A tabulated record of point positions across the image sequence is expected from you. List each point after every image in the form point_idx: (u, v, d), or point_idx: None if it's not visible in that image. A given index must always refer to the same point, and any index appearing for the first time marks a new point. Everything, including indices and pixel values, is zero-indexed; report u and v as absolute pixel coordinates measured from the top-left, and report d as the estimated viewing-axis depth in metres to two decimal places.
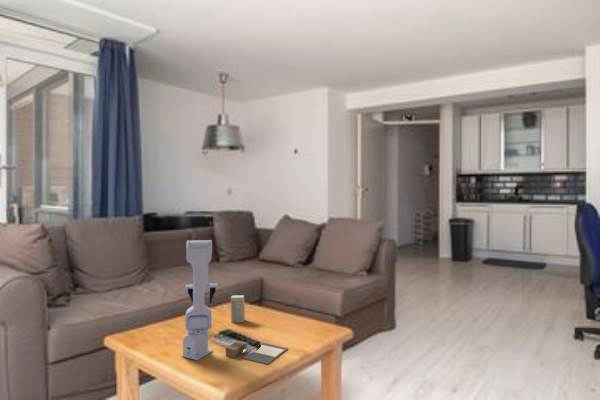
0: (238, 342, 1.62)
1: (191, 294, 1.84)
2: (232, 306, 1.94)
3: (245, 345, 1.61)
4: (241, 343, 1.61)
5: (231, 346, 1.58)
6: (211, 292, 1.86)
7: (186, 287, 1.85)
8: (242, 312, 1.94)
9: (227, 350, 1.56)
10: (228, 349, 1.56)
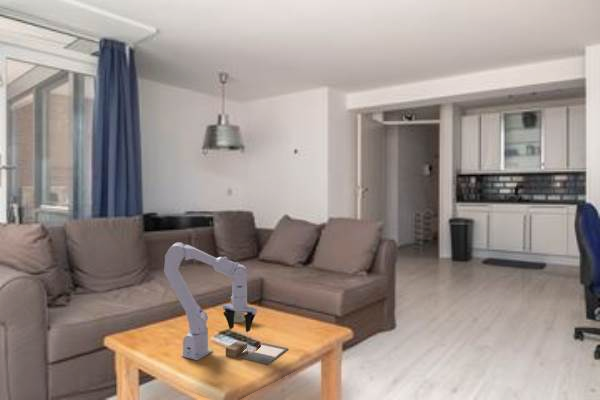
0: (238, 342, 1.62)
1: (226, 315, 1.60)
2: None
3: (245, 345, 1.61)
4: (241, 343, 1.61)
5: (231, 346, 1.58)
6: (245, 317, 1.57)
7: (223, 306, 1.62)
8: (242, 312, 1.94)
9: (227, 350, 1.56)
10: (228, 349, 1.56)
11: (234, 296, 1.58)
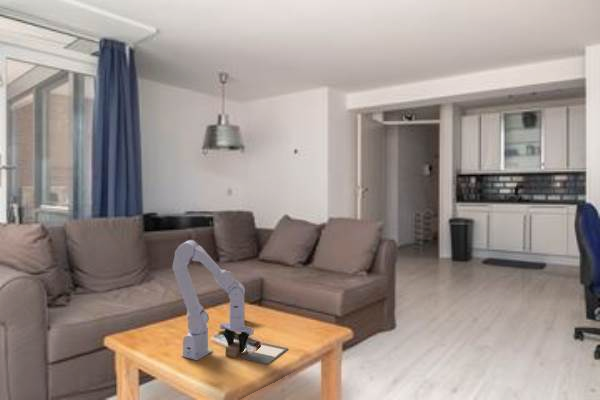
0: (238, 341, 1.62)
1: (226, 335, 1.58)
2: None
3: None
4: None
5: (231, 345, 1.58)
6: (239, 337, 1.55)
7: (221, 325, 1.61)
8: None
9: (227, 349, 1.56)
10: (228, 348, 1.56)
11: (231, 316, 1.57)
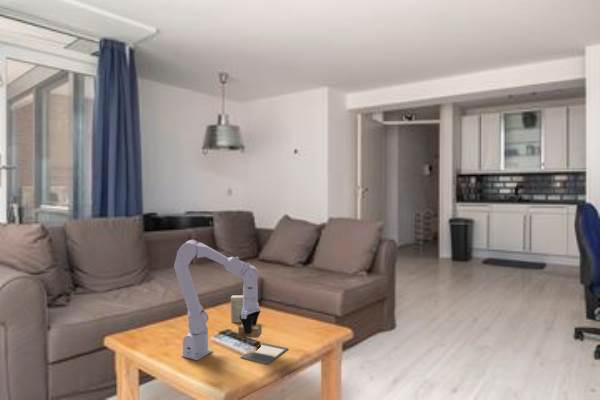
0: (256, 325, 1.60)
1: None
2: (232, 306, 1.94)
3: (254, 330, 1.57)
4: (254, 327, 1.59)
5: None
6: None
7: None
8: None
9: None
10: None
11: (244, 297, 1.57)
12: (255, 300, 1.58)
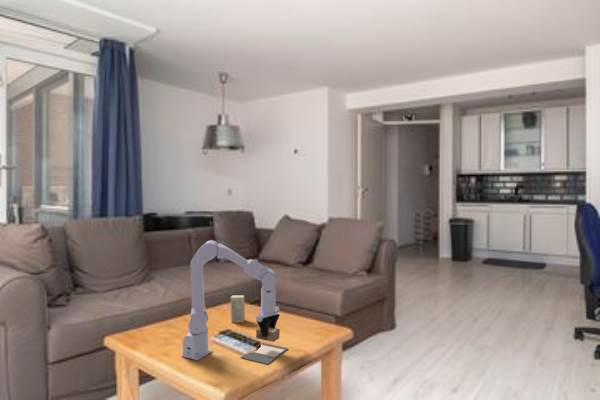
0: (274, 329, 1.61)
1: None
2: (232, 306, 1.94)
3: (271, 334, 1.58)
4: (271, 330, 1.59)
5: None
6: None
7: None
8: (242, 312, 1.94)
9: None
10: None
11: (263, 301, 1.58)
12: (272, 304, 1.58)
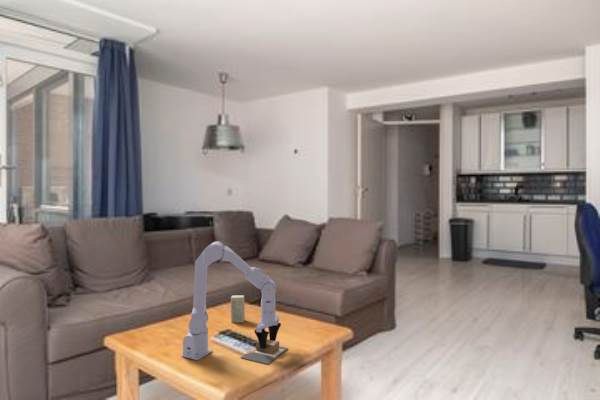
0: (274, 342, 1.61)
1: None
2: (232, 306, 1.94)
3: (270, 346, 1.58)
4: (271, 343, 1.59)
5: None
6: None
7: None
8: (242, 312, 1.94)
9: None
10: None
11: (263, 311, 1.58)
12: (272, 314, 1.58)
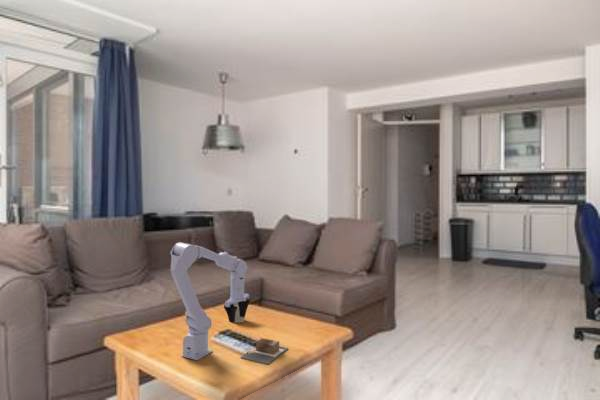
0: (274, 342, 1.61)
1: None
2: None
3: (270, 346, 1.58)
4: (271, 343, 1.59)
5: (264, 340, 1.63)
6: None
7: None
8: None
9: None
10: None
11: (236, 288, 1.67)
12: (240, 290, 1.68)
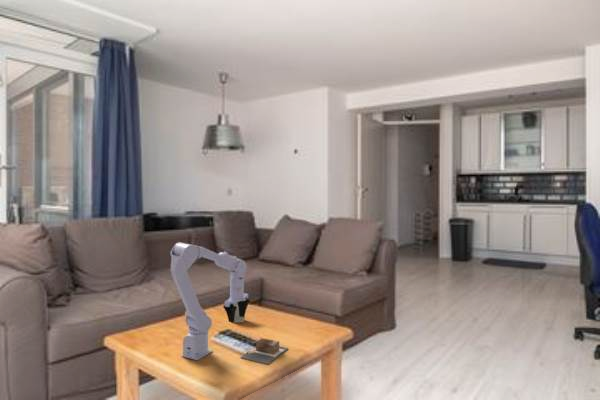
0: (274, 342, 1.61)
1: None
2: None
3: (270, 346, 1.58)
4: (271, 343, 1.59)
5: (264, 340, 1.63)
6: None
7: None
8: None
9: None
10: None
11: (235, 288, 1.68)
12: (240, 290, 1.68)
